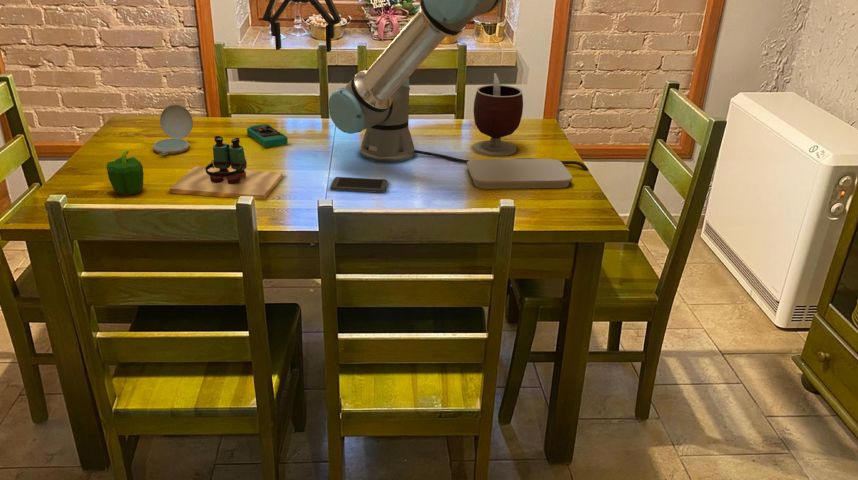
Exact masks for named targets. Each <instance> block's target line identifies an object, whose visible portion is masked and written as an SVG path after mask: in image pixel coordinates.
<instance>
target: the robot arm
mask: <svg viewBox="0 0 858 480" xmlns="http://www.w3.org/2000/svg"><path fill="white" fill-rule="evenodd" d="M277 1H278V0H269V1H268V4H267V6H266V9H265V11H264V14H263V16H262V20H263V21H265V22H268V23H269V24H270V34H271V36H272V37H274V41H275V51H279V50H281V49H282V36H281V35H282V34H281V23H280V22H278V20H279V19H280V18H281V16H282V15H283V14H284V13H285V11H286V9H287V8H288V7H289V5H290V4H291V3H292V2H293V3H295V4H298V3H303V4H307V3H309V4H310V5H311V6H313V7H314V9H315V10H316V12H318V14H319V15H320V16H321V17H322V19H323V20H324V21H325V23H326V25H325V26H324V27H325V50H326V51H325V52H326V53H330V52H331V51H332V39H334V38H335V36H336V34H335V32H336V31H335V29H336V28H335V25H337V24H340V23H341V22H342V18H341V16H340V14H339V11H338V10H337V7H336V4H335V2H334V1H333V0H324V2H325V4H326V6H327V9H328V10H329V12H328V10H326V8H325V7H324V6H323V5H322V4H321V2H320V1H319V0H283V1H282V3H281V4H280V6H278V8H277V9H276V11H275V12H274V14H273V11H274V9H275V7H276V4H277ZM502 1H503V0H419V10H418V11H417V12H416V13H415V14H414V15H413V17H411V19H410V20H409V21H408V22H407V23H406V25H404V27H403V28H402V30H401V31H400V32H399V33H398V34H397V35H396V37H395V38H394V39H393V40H392V41H391V42H390V43H389V44H388V46H387V47H386V48H385V49H384V51H382V53H381V54H380V55H379V56H378V57H377V59H376V60H375V61H374V62H373V63H372V64H371V66H370V67H369V68H368V69H367V70H360V71H358V72H357V73H356V74H355V75H354V76H353V77H352V79H351V80H350V81H349V82H348V83H347V84H346V85H345V86H343V87H341V88H337V89H336V90H334V91H333V92H332V93H331V94H330V96H329V98H328V102H327V103H328V104H327V107H328V114H329V117H330V120H331V121H332V123H333V124H334V125H335V127H336V128H337V129H338V130H340V132H343V133H345V134H350V135H353V134H357V133H358V134H359V133H361V132H362V131H365V132H364V135H363V139H362V140H361V141H362V142H361V144H360V155H361V157H363V158H365V159H366V160H369V161H372V162H378V163H399V162H404V161H408V160H410V159H411V158H413V157H414V156H415V154H418V155H424V156H430V157H437V158H441V159H445V160H450V161H452V162H456V163H457V162H458V163H464V164H467V162H468V161H470V160H471V159H463V158H458V157H453V156H449V155H446V154H441V153H435V152H429V151H425V150H418V149H415V145H414V142H413V137H412V135H411V132H410V127H409V121H410V118H409V115H410V113H409V112H410V90H411V88H410V76H412V74H413V73H414V72H415V71H416V70H417V69H418V68H419V67H420V66H421V64H422V63H424V62H425V60H426V59H427V58H428V57H429V56H430V55H431V54H432V53H433V52H434V51H435V50H436V49H437V48H438V46H439V45H440V44H441V43H442V42H443V41H444V40H445V39H446V37H455V36H457V35H458V34H459V33H460V32H461V31H462V30H463V29H464V28H465V27H466V26H467V25H468V24H469V23H470V22H471V21H472V20H473V19H475V18H476V17H478V16H482V15H484V14H485V15H486V14H488V13H490V12H493V11H494V10H496V8H497V7H498V6H499V5H500V4H501V2H502ZM272 14H273V15H272ZM516 159H538V158H536V157H535V158H534V157H532V158H531V157H523V158H522V157H521V158H520V157H519V158H518V157H517V158H516ZM559 161H560V162H562V163H563V165H577V166H579V167H581V168H582V169H583V170H585V171H589V168H588V167H587V165H585V164H584V163H582V162H580V161H576V160H559Z"/></svg>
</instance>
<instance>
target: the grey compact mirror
mask: <svg viewBox="0 0 858 480" xmlns="http://www.w3.org/2000/svg"><path fill="white" fill-rule="evenodd" d="M159 124H160V128H161V130H162V132H163V133H164V134H165V135H166V136H168V137H169V138H165V139H160V140H157V141H156V142H154V143H153V146H152V149H153V151H154V152H156V153H158V154H159V156H166V155H167V156H168V155H177V154H181V153H184V152H186V151H187V150H189V149H190V146H191V145H190V143H189V142H188V140H186V139H184V138H186V137H187V136H189V135H190V133H191V132H192V130H193V128H194V127H193V126H194V120H193V117H192V114H191V112H190V111H189V110H188V109H187V108H186V107H184V106H183V105H181V104H170V105H168V106H166V107H165V108H164V109H163V110H162V111H161V114H160V116H159Z"/></svg>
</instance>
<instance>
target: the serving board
mask: <svg viewBox="0 0 858 480" xmlns="http://www.w3.org/2000/svg"><path fill="white" fill-rule="evenodd" d="M205 167H206V166H196V165H195V166H193V168H191V169H189V171H188V172H187V173H186V174H184V175H183V176H182V177H181V178H180V179H178V180H177V181H176V182H175V183H174V184H173V185H172V186H171V187H170V188H169V194H176V195H177V194H178V195H192V196H207V197H218V198H219V197H220V198H233V199H239V198H238V197H240V196H253V197H254V198H255V199H254V200H259V201H264V200H265V199H266V198H267V197H268V196H269V195H270V193H271V192H272V191H273V189H274V188H275V187H276V186H277V185H278V184H279V182H280V181H281V179H282V178H283V177H284V174H283V172H281V171H279V172H278V171H268V170H267V171H265V170H254V169H252V170H251V169H245V170H244V171H245V172H246V176H244V177H240V179H241V180H240V181H239V182H238V183H235V184H229V183H228V181H227V177H228V176H225V177H223V181H222V182H219V183H214V182H212V181H211V180H210V175H208V174H207V173H206V169H205ZM227 169H228V170H229V172H232V171H235V169H232V168H227ZM219 170H220V168H215V167H214V168H212V167H211V168H210V169H208V171H209V172H217V171H219Z"/></svg>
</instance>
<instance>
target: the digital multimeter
mask: <svg viewBox="0 0 858 480" xmlns="http://www.w3.org/2000/svg"><path fill="white" fill-rule="evenodd" d="M246 134H247V135H248V136H249V137H250V138H251V139H253V140H254V141H256V142H257V143H259V144H260V145H261V146H262V147H264V148H266V149H269V148H276V147H281V146H286V145H288V143H289V141H288V136H286V135H285V134H283V133H281V132H280V131H279V130H277V129H276V128H274V127H273V126H272V125H270V124H268V123H263V124H255V125H251V126H248V127H247V128H246Z"/></svg>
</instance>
